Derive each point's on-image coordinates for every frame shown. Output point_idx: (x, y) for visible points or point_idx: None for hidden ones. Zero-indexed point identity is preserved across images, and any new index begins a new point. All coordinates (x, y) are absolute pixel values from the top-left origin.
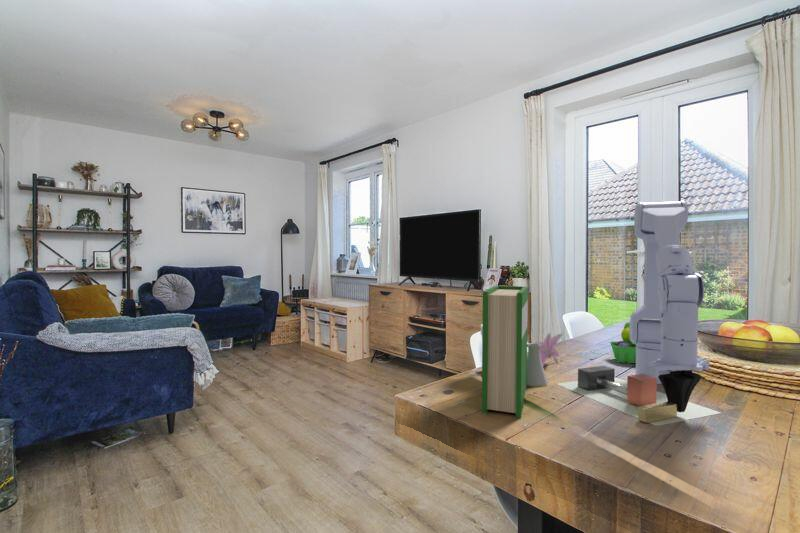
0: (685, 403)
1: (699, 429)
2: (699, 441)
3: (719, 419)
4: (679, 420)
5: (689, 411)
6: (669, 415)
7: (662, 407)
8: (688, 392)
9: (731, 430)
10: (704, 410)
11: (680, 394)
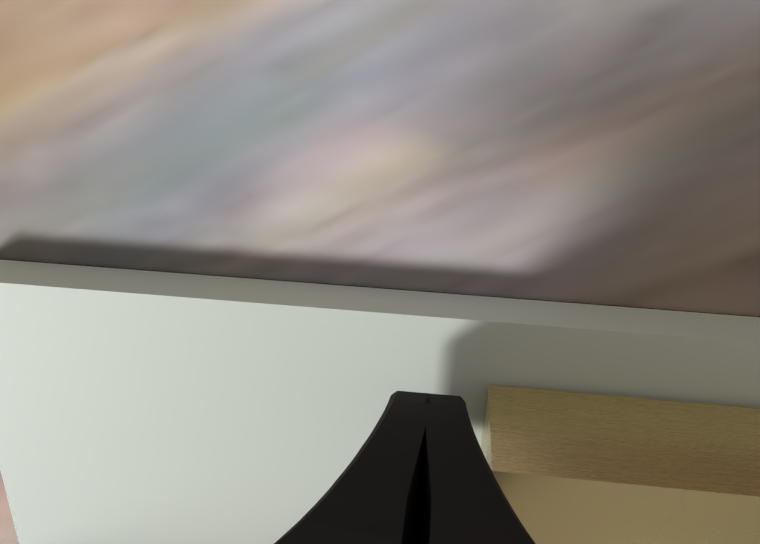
0: (412, 436)
1: (435, 195)
2: (754, 26)
3: (28, 249)
4: (534, 335)
5: (219, 410)
6: (600, 409)
7: (743, 486)
8: (383, 520)
9: (164, 59)
10: (58, 370)
11: (525, 534)
